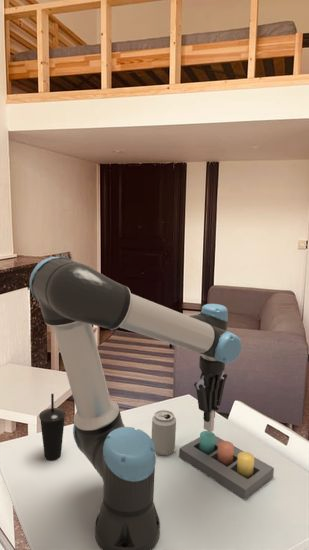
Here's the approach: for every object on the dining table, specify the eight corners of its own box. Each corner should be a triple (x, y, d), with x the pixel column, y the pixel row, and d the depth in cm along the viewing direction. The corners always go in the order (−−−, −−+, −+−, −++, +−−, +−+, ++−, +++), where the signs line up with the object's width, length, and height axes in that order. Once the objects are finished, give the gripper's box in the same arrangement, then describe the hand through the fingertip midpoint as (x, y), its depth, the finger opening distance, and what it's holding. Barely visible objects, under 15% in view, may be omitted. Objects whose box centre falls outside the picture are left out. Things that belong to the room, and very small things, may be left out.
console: (244, 500, 106) (245, 489, 106) (178, 457, 123) (179, 448, 123) (273, 477, 116) (273, 467, 115) (208, 440, 133) (208, 432, 132)
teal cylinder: (207, 456, 121) (208, 441, 120) (196, 449, 124) (196, 434, 123) (217, 450, 124) (218, 435, 123) (205, 443, 127) (206, 429, 126)
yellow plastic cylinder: (246, 480, 111) (248, 463, 110) (233, 471, 114) (234, 455, 113) (256, 473, 114) (257, 457, 113) (242, 465, 117) (243, 449, 116)
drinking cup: (46, 467, 116) (46, 402, 113) (35, 454, 122) (34, 392, 119) (70, 457, 121) (70, 395, 118) (58, 445, 127) (58, 386, 124)
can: (172, 458, 123) (174, 422, 121) (148, 454, 124) (150, 418, 122) (176, 444, 130) (178, 410, 128) (153, 441, 131) (155, 406, 129)
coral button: (226, 467, 116) (227, 452, 115) (213, 460, 119) (214, 444, 118) (235, 461, 119) (237, 445, 118) (223, 454, 122) (224, 439, 121)
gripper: (208, 365, 112) (204, 443, 116) (236, 354, 121) (231, 427, 125) (188, 357, 117) (185, 431, 121) (216, 347, 126) (212, 417, 130)
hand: (208, 429), depth 123 cm, fingers closed
